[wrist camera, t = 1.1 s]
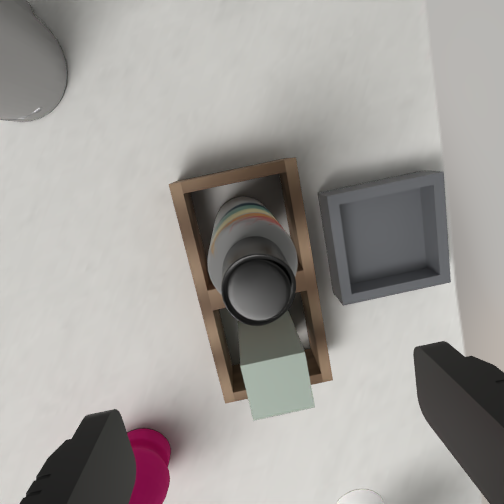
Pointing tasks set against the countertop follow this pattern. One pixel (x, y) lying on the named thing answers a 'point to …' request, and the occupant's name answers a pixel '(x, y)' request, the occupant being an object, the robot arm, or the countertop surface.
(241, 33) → the countertop surface
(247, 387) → the grey-green block
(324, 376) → the frame
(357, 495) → the champagne flute
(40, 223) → the countertop surface
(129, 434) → the pepper mill
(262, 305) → the lotion bottle
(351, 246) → the tray
